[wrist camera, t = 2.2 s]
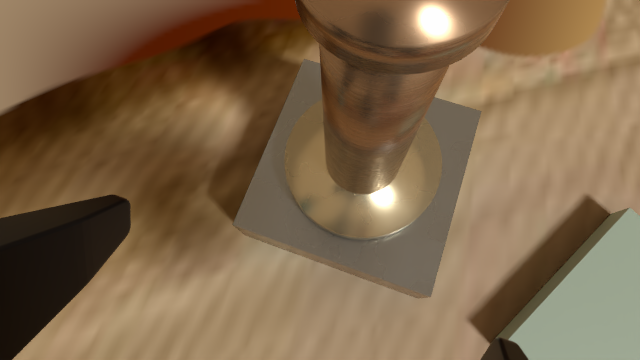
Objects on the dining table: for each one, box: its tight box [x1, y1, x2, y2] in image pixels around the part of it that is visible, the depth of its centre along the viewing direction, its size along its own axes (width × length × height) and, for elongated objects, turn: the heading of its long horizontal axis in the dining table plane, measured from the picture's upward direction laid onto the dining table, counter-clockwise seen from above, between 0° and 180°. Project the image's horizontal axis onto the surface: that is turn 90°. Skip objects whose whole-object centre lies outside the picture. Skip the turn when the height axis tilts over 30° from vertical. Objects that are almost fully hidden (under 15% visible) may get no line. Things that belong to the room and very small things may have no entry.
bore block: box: [233, 59, 481, 298], centre depth 22 cm, size 10×10×3 cm
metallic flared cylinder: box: [284, 0, 509, 240], centre depth 15 cm, size 8×8×16 cm
